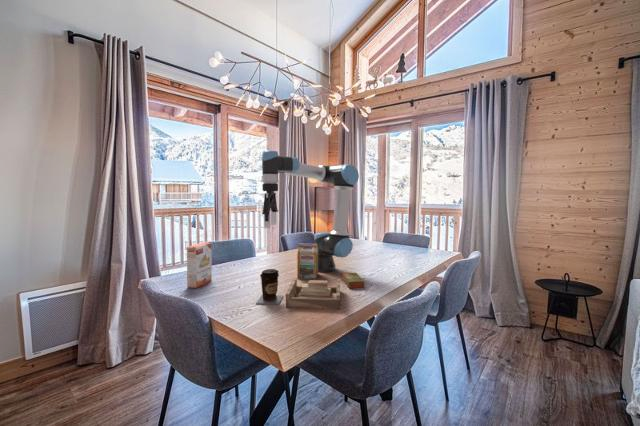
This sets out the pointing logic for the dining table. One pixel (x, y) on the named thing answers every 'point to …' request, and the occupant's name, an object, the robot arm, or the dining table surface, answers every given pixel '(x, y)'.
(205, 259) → the cracker box
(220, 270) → the dining table surface
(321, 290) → the offcut stack
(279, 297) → the coaster
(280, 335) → the dining table surface
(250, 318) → the dining table surface
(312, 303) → the brown wooden tray
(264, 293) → the coffee cup
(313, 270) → the milk carton
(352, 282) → the carton
